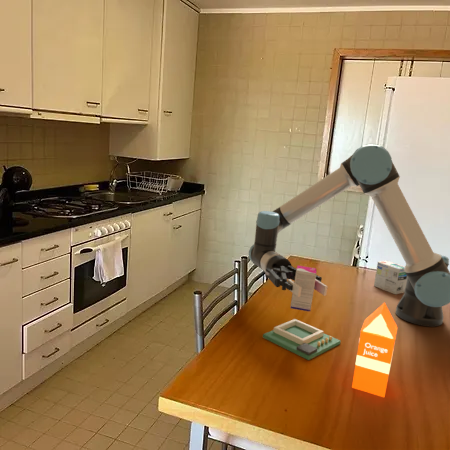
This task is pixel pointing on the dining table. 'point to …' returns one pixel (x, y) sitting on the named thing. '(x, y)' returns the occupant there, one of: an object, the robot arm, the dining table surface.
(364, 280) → the dining table surface
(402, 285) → the light bulb box
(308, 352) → the socket board
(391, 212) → the robot arm
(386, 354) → the orange juice
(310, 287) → the supplement box
